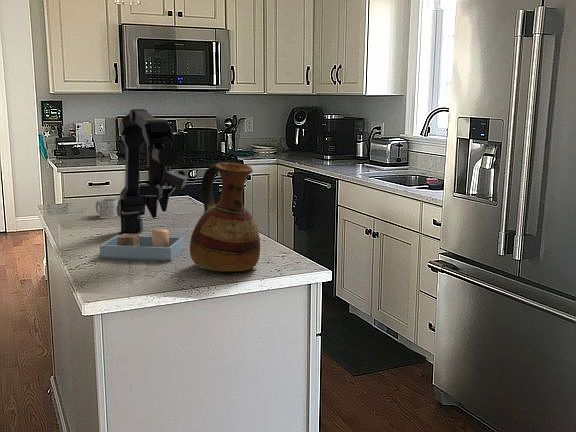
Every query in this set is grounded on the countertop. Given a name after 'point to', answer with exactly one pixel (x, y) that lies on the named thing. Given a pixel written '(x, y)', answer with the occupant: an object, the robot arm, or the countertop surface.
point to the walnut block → (128, 240)
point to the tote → (142, 250)
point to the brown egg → (160, 238)
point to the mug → (107, 207)
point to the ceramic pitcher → (225, 223)
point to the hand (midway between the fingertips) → (159, 214)
